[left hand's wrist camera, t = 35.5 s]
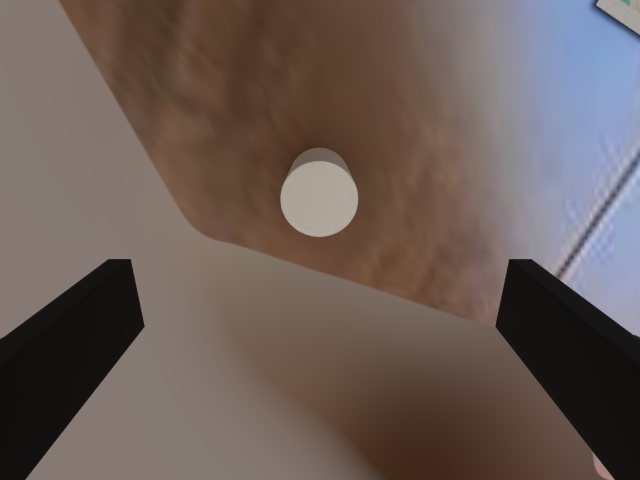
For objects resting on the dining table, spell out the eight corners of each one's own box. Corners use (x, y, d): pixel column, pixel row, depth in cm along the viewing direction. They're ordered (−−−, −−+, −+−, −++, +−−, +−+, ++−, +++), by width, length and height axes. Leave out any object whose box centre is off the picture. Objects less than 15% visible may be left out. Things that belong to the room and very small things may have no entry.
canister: (282, 154, 32) (271, 170, 25) (343, 141, 32) (350, 153, 24) (296, 212, 34) (290, 243, 27) (353, 200, 34) (364, 228, 26)
